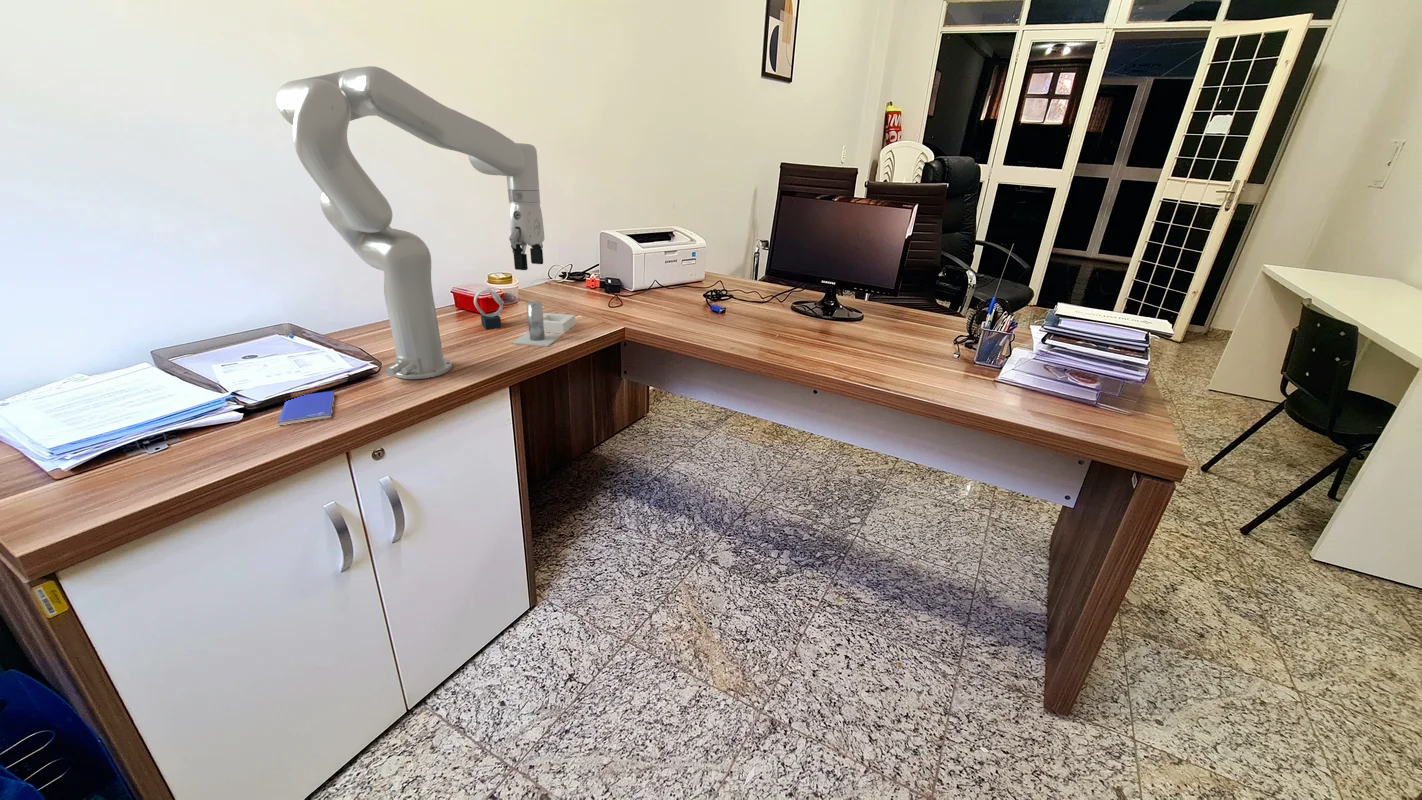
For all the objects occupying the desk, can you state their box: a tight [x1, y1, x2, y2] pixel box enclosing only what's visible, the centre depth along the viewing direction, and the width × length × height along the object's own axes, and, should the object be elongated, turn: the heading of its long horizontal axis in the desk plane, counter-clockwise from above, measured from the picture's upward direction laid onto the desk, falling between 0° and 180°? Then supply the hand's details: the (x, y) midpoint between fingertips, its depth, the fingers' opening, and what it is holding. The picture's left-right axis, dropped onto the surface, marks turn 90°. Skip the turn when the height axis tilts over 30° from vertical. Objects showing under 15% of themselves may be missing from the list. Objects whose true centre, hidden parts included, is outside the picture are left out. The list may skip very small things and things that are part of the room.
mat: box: [511, 331, 562, 348], centre depth 153 cm, size 10×10×1 cm
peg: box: [526, 300, 546, 341], centre depth 151 cm, size 4×4×10 cm
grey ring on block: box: [473, 288, 505, 330], centre depth 161 cm, size 6×8×11 cm
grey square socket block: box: [543, 312, 576, 335], centre depth 164 cm, size 10×10×3 cm
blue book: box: [277, 391, 336, 425], centre depth 109 cm, size 2×8×12 cm
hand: (529, 266), depth 145 cm, fingers open, 9 cm apart
